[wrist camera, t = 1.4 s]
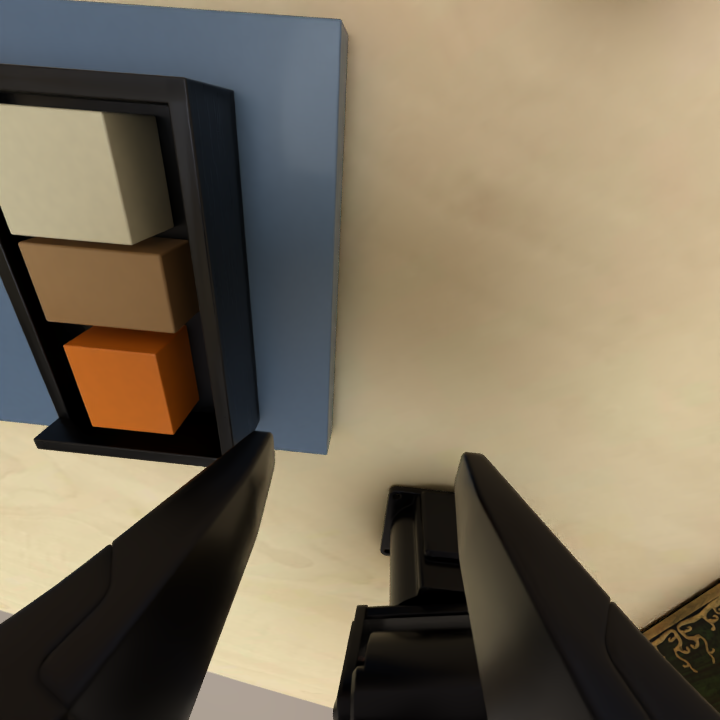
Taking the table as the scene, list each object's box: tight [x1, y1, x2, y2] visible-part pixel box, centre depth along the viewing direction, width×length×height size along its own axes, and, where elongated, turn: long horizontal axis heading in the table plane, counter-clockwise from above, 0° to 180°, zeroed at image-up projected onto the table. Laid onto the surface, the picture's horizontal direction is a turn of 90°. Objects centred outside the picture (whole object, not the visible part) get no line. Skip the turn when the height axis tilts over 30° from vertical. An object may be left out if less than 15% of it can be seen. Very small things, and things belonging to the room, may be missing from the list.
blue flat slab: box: [0, 0, 348, 455], centre depth 17 cm, size 18×24×2 cm
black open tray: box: [0, 63, 260, 467], centre depth 15 cm, size 14×9×4 cm, turn 176°
